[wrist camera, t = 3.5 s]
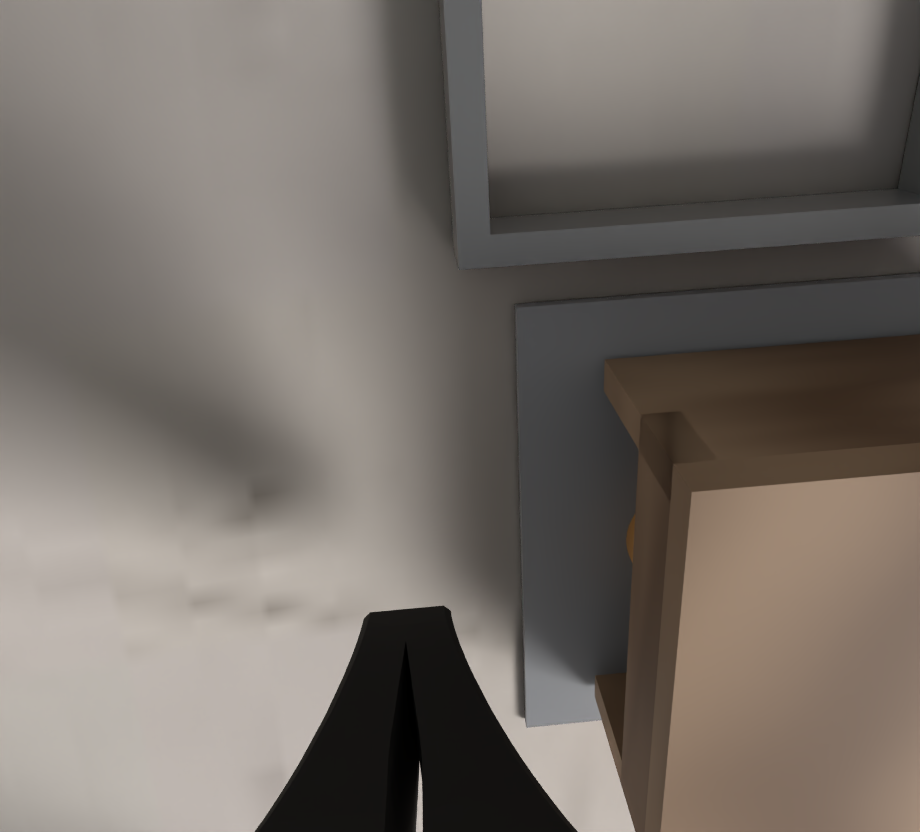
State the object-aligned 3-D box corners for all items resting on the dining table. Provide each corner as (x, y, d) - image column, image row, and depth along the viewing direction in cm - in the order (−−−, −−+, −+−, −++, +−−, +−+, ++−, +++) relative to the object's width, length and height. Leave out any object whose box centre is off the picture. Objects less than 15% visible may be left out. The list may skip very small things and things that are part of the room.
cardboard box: (991, 328, 14) (1234, 444, 10) (902, 665, 17) (1053, 850, 13) (604, 359, 13) (692, 491, 9) (594, 695, 17) (654, 895, 13)
